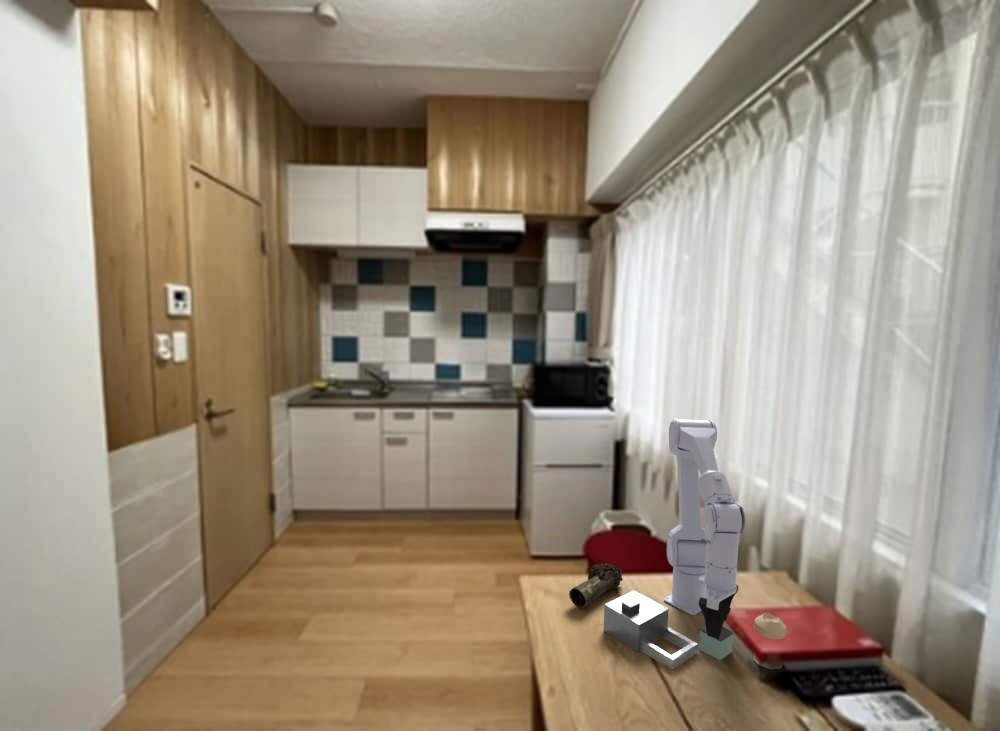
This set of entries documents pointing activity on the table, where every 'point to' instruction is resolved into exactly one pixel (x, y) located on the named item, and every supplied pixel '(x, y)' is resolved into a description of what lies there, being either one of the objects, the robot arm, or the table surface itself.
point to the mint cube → (716, 643)
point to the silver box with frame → (645, 628)
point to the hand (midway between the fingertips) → (717, 627)
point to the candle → (770, 626)
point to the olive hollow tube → (596, 584)
